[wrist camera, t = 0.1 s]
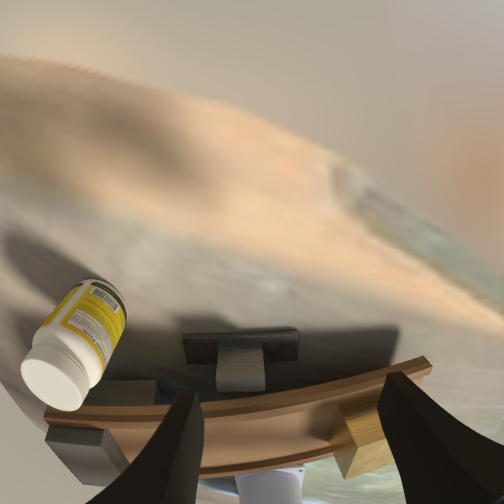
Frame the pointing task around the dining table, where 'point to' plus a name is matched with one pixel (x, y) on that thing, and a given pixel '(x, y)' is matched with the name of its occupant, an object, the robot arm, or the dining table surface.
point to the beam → (209, 425)
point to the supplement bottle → (75, 344)
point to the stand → (241, 356)
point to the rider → (359, 438)
